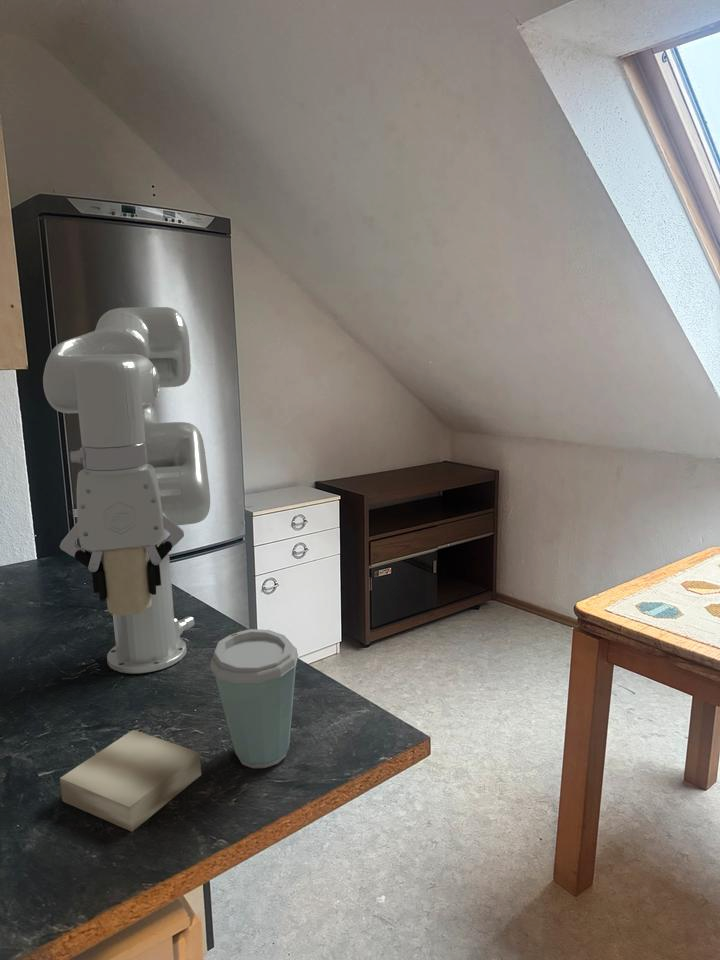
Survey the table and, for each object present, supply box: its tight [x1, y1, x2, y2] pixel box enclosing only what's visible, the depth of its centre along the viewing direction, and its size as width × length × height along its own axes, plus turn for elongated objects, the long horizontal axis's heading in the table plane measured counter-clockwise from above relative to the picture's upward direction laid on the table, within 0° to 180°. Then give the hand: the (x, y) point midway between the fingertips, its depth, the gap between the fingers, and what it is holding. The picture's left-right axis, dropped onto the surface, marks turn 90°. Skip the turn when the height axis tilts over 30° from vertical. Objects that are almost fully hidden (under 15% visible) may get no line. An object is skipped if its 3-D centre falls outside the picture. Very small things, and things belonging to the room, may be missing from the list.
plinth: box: [59, 729, 202, 833], centre depth 81 cm, size 11×11×3 cm
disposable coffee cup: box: [209, 628, 299, 769], centre depth 86 cm, size 11×11×15 cm
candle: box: [101, 547, 151, 615], centre depth 90 cm, size 6×6×10 cm
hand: (128, 592), depth 91 cm, fingers closed on candle, 5 cm apart
